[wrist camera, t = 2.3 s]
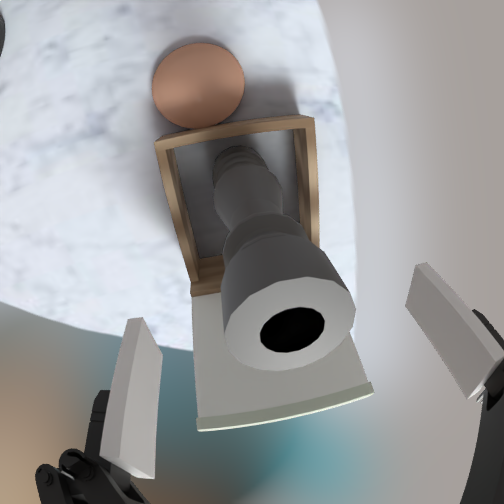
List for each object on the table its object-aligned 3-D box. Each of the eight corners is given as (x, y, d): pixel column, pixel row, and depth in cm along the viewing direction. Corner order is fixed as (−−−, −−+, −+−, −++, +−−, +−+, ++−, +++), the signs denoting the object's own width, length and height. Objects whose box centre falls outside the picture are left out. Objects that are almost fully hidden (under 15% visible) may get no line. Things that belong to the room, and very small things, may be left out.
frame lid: (189, 296, 32) (186, 415, 19) (325, 271, 33) (381, 374, 20) (198, 321, 35) (200, 433, 22) (324, 297, 35) (372, 397, 22)
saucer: (148, 56, 24) (145, 54, 23) (237, 38, 24) (238, 36, 23) (162, 135, 29) (160, 137, 28) (248, 119, 29) (250, 120, 28)
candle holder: (222, 202, 34) (245, 386, 13) (205, 156, 31) (191, 302, 10) (270, 186, 34) (362, 347, 13) (256, 139, 31) (357, 248, 10)
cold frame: (162, 135, 29) (135, 157, 19) (299, 114, 30) (343, 125, 20) (205, 302, 42) (206, 366, 32) (308, 283, 43) (334, 341, 33)
